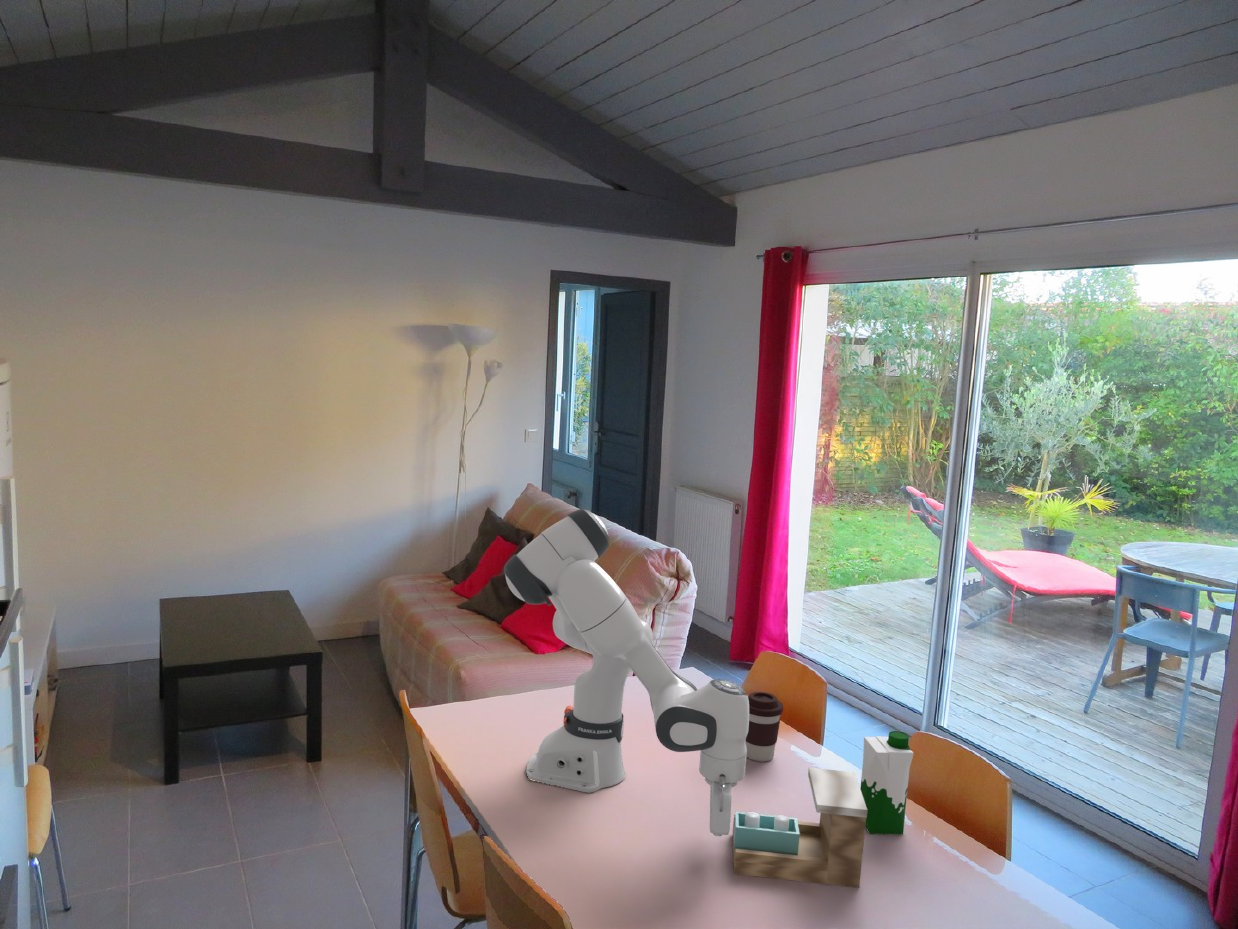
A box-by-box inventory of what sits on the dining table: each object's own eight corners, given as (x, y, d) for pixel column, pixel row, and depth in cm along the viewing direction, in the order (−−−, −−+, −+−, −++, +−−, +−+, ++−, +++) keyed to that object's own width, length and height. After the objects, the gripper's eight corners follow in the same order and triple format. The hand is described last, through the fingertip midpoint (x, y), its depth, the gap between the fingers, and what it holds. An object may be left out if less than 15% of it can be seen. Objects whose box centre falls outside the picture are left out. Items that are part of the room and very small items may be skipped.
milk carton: (909, 837, 184) (918, 744, 182) (866, 836, 183) (875, 743, 181) (892, 815, 193) (901, 726, 190) (851, 814, 192) (860, 725, 190)
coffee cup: (778, 767, 212) (783, 707, 210) (736, 761, 214) (741, 701, 212) (779, 750, 222) (784, 692, 220) (739, 744, 224) (743, 686, 222)
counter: (734, 875, 167) (740, 796, 165) (732, 833, 182) (738, 760, 180) (859, 889, 165) (867, 810, 163) (847, 845, 179) (854, 772, 178)
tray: (795, 839, 176) (797, 812, 175) (797, 856, 170) (800, 828, 169) (733, 833, 177) (735, 806, 176) (734, 849, 171) (736, 821, 170)
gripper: (740, 791, 162) (734, 863, 163) (738, 744, 182) (733, 808, 183) (705, 788, 162) (700, 859, 164) (706, 740, 182) (702, 805, 184)
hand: (717, 832), depth 174 cm, fingers closed
